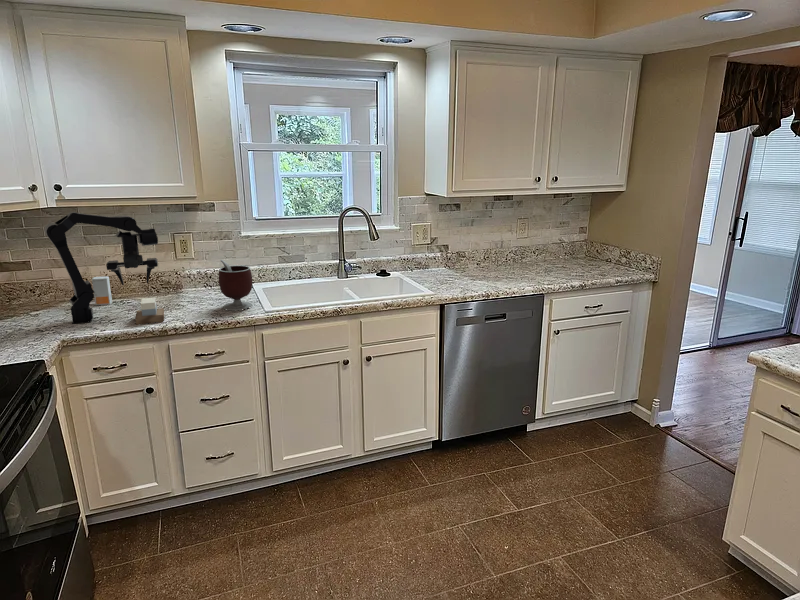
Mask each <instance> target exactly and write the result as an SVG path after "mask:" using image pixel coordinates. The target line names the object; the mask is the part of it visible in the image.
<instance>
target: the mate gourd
mask: <svg viewBox="0 0 800 600" xmlns="http://www.w3.org/2000/svg"><path fill="white" fill-rule="evenodd" d="M220 262H221V263H222V264H223V267H220V268H218V287H219V289H220V292H221V293H222V294H223V296H224V297H225V298H228V299H232V300H233V301H232V302H228V303H225V304H223V306H222V309H223V308H224V309H227V310H226V311H228V310H241V311H243V310H242V309H246V310H248V309H247V308H249V307H251V306H252V307H253V303H252V302H249V301H242V300H241V299H243V298H245V297H247V296H249V294H250V293H251V292H252V290H253V274H252V270H251V267H250V266H249V265H248V266H247V265H230V264H229V263H228V262H227V261H225V260H223V259H220ZM252 307H251V308H252ZM224 309H223V310H224ZM249 309H250V308H249Z"/></svg>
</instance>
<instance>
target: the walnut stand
mask: <svg viewBox="0 0 800 600" xmlns="http://www.w3.org/2000/svg"><path fill="white" fill-rule="evenodd" d="M134 318H135V325H136V326H138V325H139V324H140V325H147V324H146V323H149V324H155V323H154V322H159V323H164V322H165V309H164V308H162V307H160V308H159V307H158V308H157V313H156V315H148V316H142V310H140V309H139V310H136V313H135V317H134ZM163 321H164V322H163Z"/></svg>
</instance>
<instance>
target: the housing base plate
mask: <svg viewBox="0 0 800 600" xmlns="http://www.w3.org/2000/svg"><path fill="white" fill-rule="evenodd" d="M157 309H158V307H157V305H156V309H146V310H142V316H148V315H156V313H157Z"/></svg>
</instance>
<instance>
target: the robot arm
mask: <svg viewBox="0 0 800 600" xmlns="http://www.w3.org/2000/svg"><path fill="white" fill-rule="evenodd" d="M76 224H85V225H95V226H104V227H105V226H106V227H112V228H114V229H117V230H118V229H119V230H118V232H117V233H116V234H115V235H114V236H115V237H116V238H121V244H122V246H121V247H122V252H123V258H122V259H123V261H122V262H119V260H118V259H116V260H108V261H107V263H106V264H105V266H106V270H107V271H110V272H113V273H114V274H115V275H116V276H117V278H118V279H119V282H120V283H121V285H122V286H124V285H125V284H124V283H125V282H124V278H123V275H122V271H121V268H122V267H124V268H125V269H132V268H133V269H137V268H138V267H139V266H146V284H149V280H150V275H151V273H152V270H154V269H155V267H156V268H157V267H158V265H159V260H158V259H157V258H156V257H152V258H151V257H149V258H148V257H147V258H146V260H144V258H143V255H142V254H140V249H139V244H141V246H142V247H144V246H145V247H147V246H154V245H159V238H158V235H157V232H156V229H155V228H154V227H153V228H152V227H151V228H145V229H143V228H142V229H141V227H139V226H138V225H137V220H136V219H135V218H133V217H132V216H129V215H113V216H111V215H110V216H108V215H107V216H105V215H97V214H90V213H89V214H87V213H80V212H75V211H69V213H67V215H64V216H62V218H60V219H57V220H56V221H55V222H51V223H48V224H46V226H45V227H44V234H45V235H46V237H47V238H48V240H49V241H50V242H51V244H52V245H53V246H54V247H55V249H56V250H57V253H58V255H59V257H60V259H61V262H62V263H63V265H64V268H65V269H66V272H67V275H68V277H69V278H70V280H71V283H72V289H73V292H74V294H73V295H72V297H70V299H69V303H70V304H71V306H70V313H71V318H72V322H71V324H72V325H75V324H83V323H84V324H85V323H91V322H92V321H93V319H94V311H93V308H92V307H91V302H92V301H93V300H94V299H95V298H94V293H95V292H94V291H93V285H92V282H90V281H89V280H86V281H85V280H84V278H83V276H82V275H81V272H80V270H79V267H78V265H77V263H76V260H75V259H74V257H73V255H72V253H71V251H70V248H69V247H68V246H69V245H68V241H67V236H66V233H67V232H68V231H70V230H71V229H72V228H73V227H74V226H75V225H76ZM121 230H122V231H121ZM123 231H124V232H123ZM132 232H134V233H132Z"/></svg>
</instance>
